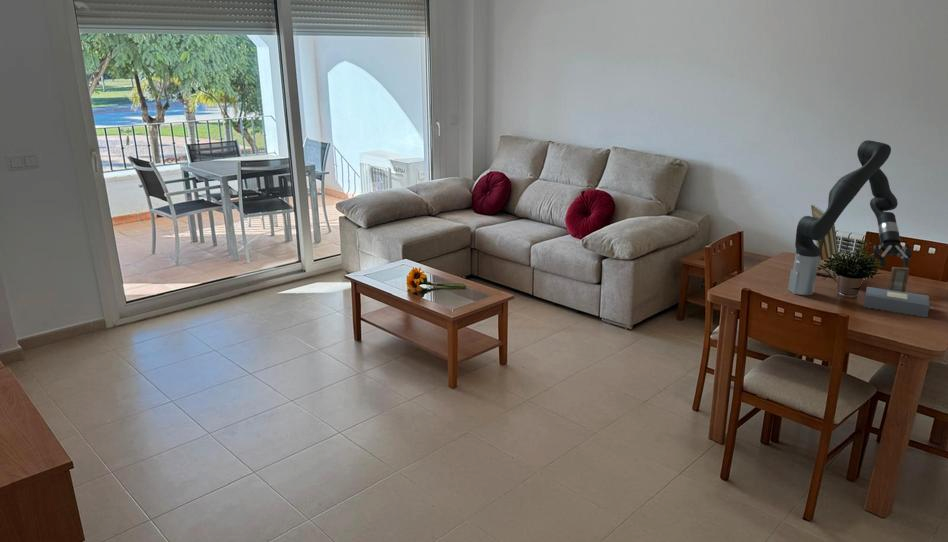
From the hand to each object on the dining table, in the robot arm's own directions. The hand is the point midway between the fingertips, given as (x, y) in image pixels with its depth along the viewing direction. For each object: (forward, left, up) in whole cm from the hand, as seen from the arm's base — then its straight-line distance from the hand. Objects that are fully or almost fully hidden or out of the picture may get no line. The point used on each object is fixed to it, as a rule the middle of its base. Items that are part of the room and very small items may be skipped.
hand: (894, 266), depth 292 cm
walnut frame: (-1, -6, -12) cm, 13 cm away
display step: (-9, -18, -12) cm, 24 cm away
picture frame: (-17, +28, -12) cm, 34 cm away
